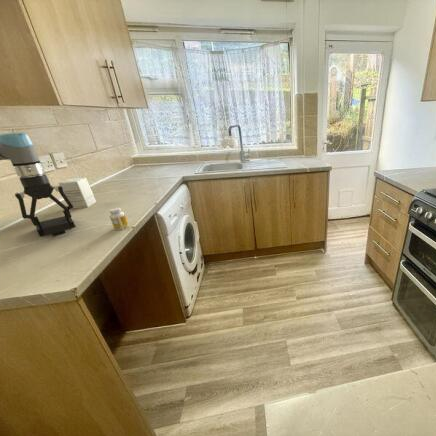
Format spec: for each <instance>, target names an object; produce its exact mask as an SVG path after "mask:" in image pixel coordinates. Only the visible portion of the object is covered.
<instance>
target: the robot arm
mask: <svg viewBox="0 0 436 436" xmlns="http://www.w3.org/2000/svg"><path fill="white" fill-rule="evenodd" d="M5 160H6V161H10V163H11V165H12V167H13V169H14V171H15V173H16V175H17V176H18V177H19V182H20V184H21V185H22V187H23V191H20V192H16V193H14V197H15V198H16V200H17V201H18V204H19V208H20V212H21V217H22V219H29V220H30V221H31V223H32V225H33V226H34V227H36V226H37V225H38V226H39V228H40V230H41V232H42V233H44V232H43V230H42V226H41V224H40V222H41V221H40V220H39V218H38V216H35V215H36V207H37V202H38V200H42V199H48V198H49V199H51V200H52V201H53V202H54V203H55V204H56V205H58V206H59V207H60V208H61V209H63V210H62V213H63V215H64V216H65V217H66V219H67V221H68V223H69V225H70V226H72V225H71V223H70V220H69V218H70V217H71V218H72V214H71V212H70V210H72V209H71V208H73V205H72V204H71V202H70V201H69V200H68V198H67V197H66V195H65V194H64V192H63V188H62V186H60V185H55V186H54V185H52V184H51V182H50V181H49V178H48V175H47V174H45V172H46V171H45V169H44V166H43V164H42V161H41V160H40V158H39V155H38V153H37V150H36V148H35V145H34V143H33V141H32V140H31V138H30V136H29V134H27V132H5V133H0V161H5ZM54 190H55V192H58V193H59V194H60V196H61V197H62V199H63V200H64V201H65V203H66V205H67V206H66V205H65V204H64V203H63V202H62V201H60V200H59V199H58V198H57V197H55V195H53V191H54ZM25 195H26V196H29V197H30V198H31V204H30V210H29V214H28V213H27V211H26V210H27V209H26V205H25V201H24V198H25Z"/></svg>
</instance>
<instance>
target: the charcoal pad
mask: <svg viewBox="0 0 436 436" xmlns="http://www.w3.org/2000/svg"><path fill="white" fill-rule="evenodd" d="M61 217H65V215H64V216H59V217H55V218H51V219H47V220H42V221H40V222H43V221H45V222H46V224H48V223H52V222H56V221H60V220H62V219H61ZM69 220H70V223H71V225H72V226H70V228H71V229H73V228H76V224H75V222H74V220H73V218H72V216H71V217H70V218H69ZM40 224H41V223H40ZM35 228H36V232H37V234H38V236H39V237H44V236H45V234H44V233H42V232H41V230H40V228H39V226H38V225H37V226H35ZM65 233H66V230H65V231H61V232H57V233H54V234H52V236H53V237H54V236H58V235H62V234H65Z"/></svg>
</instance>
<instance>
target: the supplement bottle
mask: <svg viewBox="0 0 436 436" xmlns="http://www.w3.org/2000/svg"><path fill="white" fill-rule="evenodd" d="M109 214H110V215H109V220H110V221H111V224H112V226H113V229H114V231H123V230H127V229H128V228H129V227H130V225H129V223H128V219H127V217H126V214H125V212H123V211H122V209H121V207H114V208H110V209H109Z"/></svg>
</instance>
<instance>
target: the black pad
mask: <svg viewBox="0 0 436 436" xmlns="http://www.w3.org/2000/svg"><path fill="white" fill-rule="evenodd" d="M60 217H61V219H62V220H60V221H56V222H52V223H48V224H46V222H45V221H46V220H42V221H43V222H41V221H40V223H41V226H42V230H43V232H44V234H45V235H44V236H45V237H46V236H49V235H53V234H54V233H57V232H61V231H65V232H66V231H68V230H71V229H72V228H70V225H69V223H68V221H67V219H66V217H63V216H60Z"/></svg>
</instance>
